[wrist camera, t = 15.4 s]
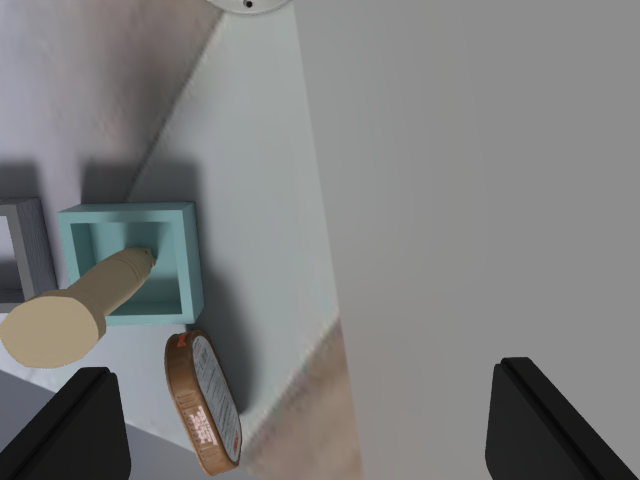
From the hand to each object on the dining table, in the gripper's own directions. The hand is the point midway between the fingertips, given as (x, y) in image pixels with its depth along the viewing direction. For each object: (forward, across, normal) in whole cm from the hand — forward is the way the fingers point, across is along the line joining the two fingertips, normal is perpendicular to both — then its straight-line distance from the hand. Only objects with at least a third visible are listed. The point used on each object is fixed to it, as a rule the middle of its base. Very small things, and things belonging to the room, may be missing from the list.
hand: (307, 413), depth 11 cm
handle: (+32, +17, +6) cm, 36 cm away
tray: (+32, +17, +6) cm, 37 cm away
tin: (+33, +11, +20) cm, 40 cm away
